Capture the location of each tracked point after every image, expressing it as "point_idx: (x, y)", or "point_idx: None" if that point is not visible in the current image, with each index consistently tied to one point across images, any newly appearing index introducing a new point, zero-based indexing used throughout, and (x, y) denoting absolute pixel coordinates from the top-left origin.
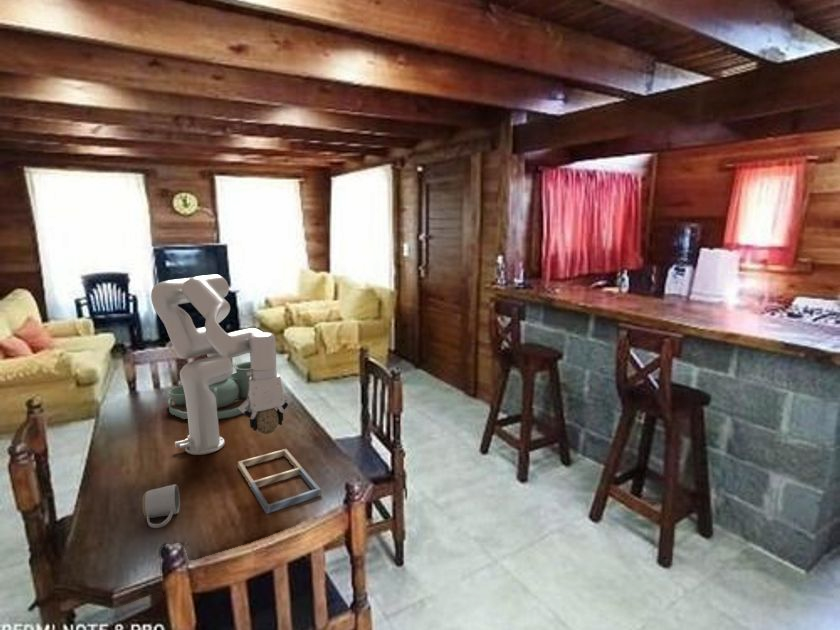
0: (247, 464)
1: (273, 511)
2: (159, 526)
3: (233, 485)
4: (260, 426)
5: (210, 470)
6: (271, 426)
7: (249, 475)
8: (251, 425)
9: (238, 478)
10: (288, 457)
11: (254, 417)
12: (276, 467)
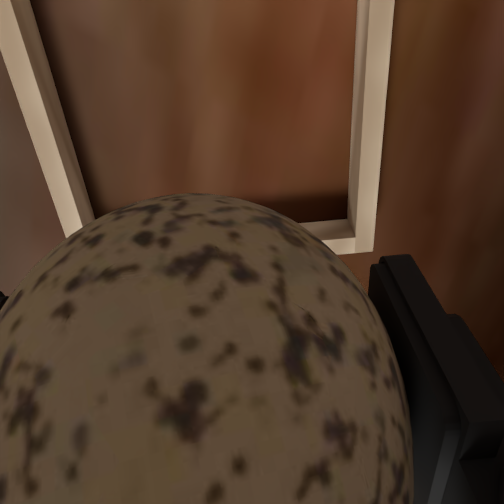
0: (319, 227)
1: None
2: None
3: (461, 35)
4: (342, 266)
5: (487, 261)
6: (142, 210)
7: (372, 40)
8: (472, 339)
9: (404, 110)
10: (75, 186)
11: (478, 474)
12: (166, 132)
